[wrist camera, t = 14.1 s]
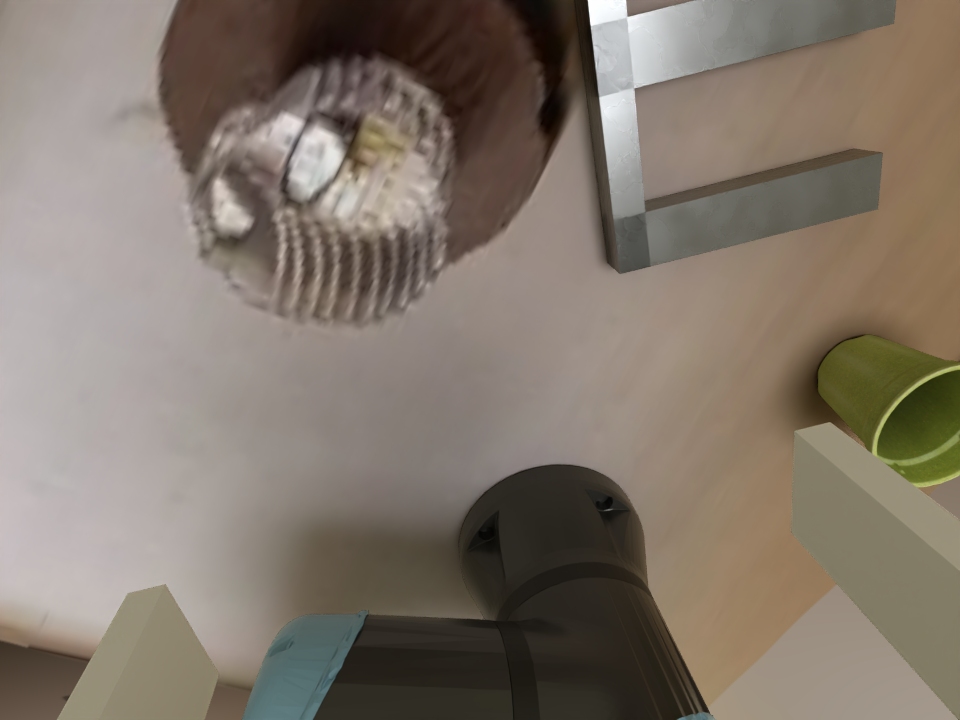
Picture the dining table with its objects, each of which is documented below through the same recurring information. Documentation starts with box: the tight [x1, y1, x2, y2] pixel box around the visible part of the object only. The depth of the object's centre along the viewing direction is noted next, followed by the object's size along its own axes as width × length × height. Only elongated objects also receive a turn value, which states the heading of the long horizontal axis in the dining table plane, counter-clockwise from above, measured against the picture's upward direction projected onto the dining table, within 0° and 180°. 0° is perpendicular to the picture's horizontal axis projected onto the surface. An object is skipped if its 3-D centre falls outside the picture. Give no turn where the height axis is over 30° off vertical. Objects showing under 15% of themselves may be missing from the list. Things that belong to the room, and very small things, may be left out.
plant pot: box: [818, 335, 960, 487], centre depth 41 cm, size 9×9×9 cm
